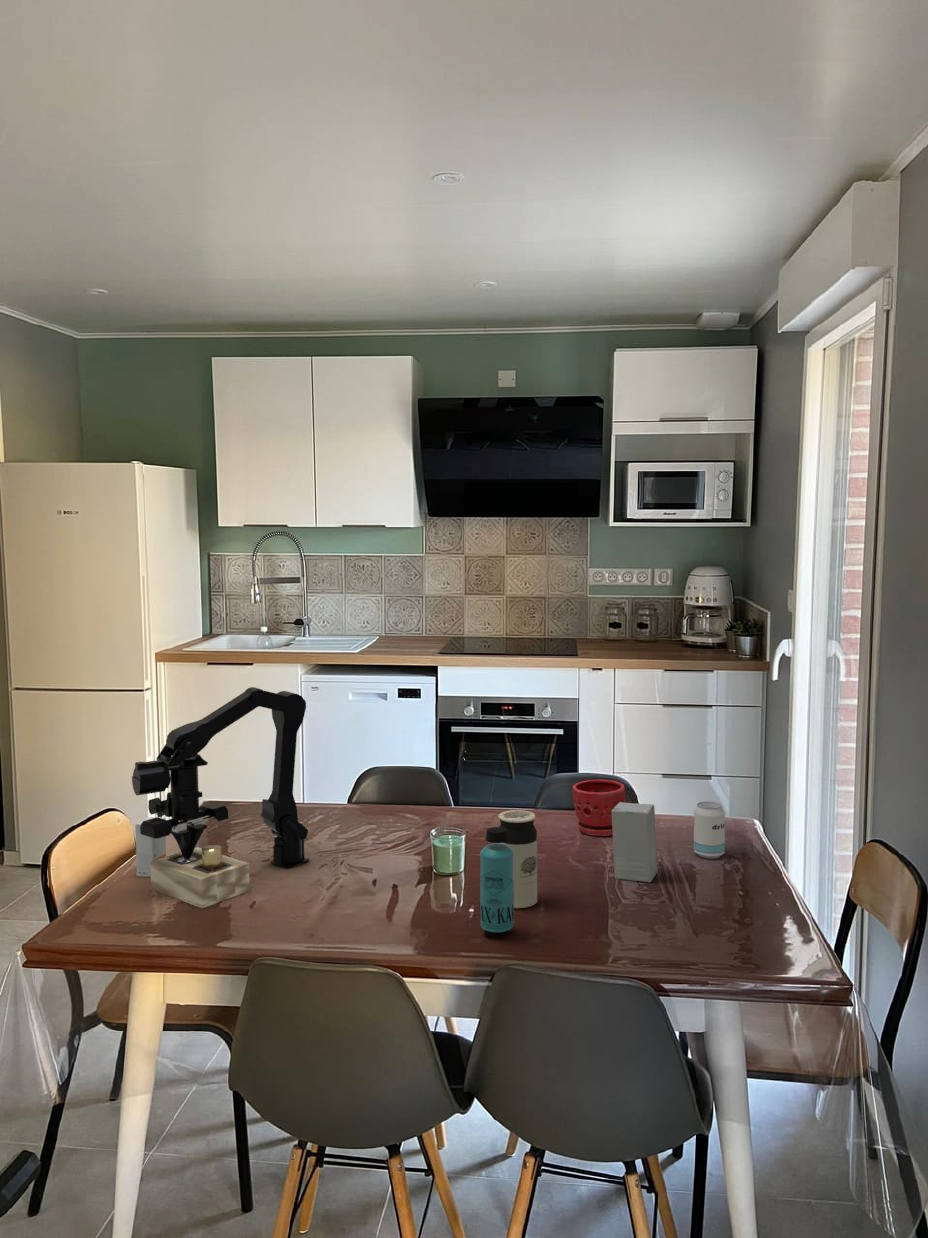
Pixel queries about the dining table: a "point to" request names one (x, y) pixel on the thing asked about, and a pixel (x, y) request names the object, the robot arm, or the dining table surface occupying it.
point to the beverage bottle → (496, 883)
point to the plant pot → (597, 805)
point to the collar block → (199, 879)
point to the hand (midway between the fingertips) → (187, 859)
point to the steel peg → (185, 859)
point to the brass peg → (211, 857)
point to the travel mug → (522, 854)
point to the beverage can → (709, 830)
